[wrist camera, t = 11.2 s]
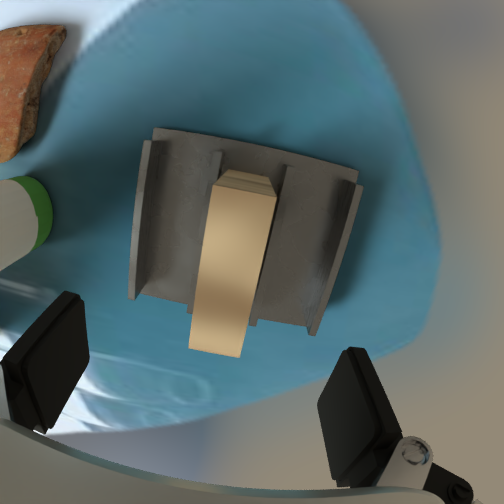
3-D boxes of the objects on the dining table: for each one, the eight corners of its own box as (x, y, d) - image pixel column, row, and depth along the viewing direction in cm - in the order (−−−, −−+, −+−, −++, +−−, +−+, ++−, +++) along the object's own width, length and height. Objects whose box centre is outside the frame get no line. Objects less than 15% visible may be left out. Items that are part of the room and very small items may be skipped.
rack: (157, 127, 24) (141, 125, 20) (355, 169, 25) (372, 174, 21) (138, 287, 29) (123, 307, 25) (309, 321, 30) (315, 345, 26)
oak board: (228, 169, 24) (212, 184, 15) (268, 177, 24) (276, 197, 15) (208, 282, 27) (188, 348, 18) (244, 289, 27) (239, 357, 19)
